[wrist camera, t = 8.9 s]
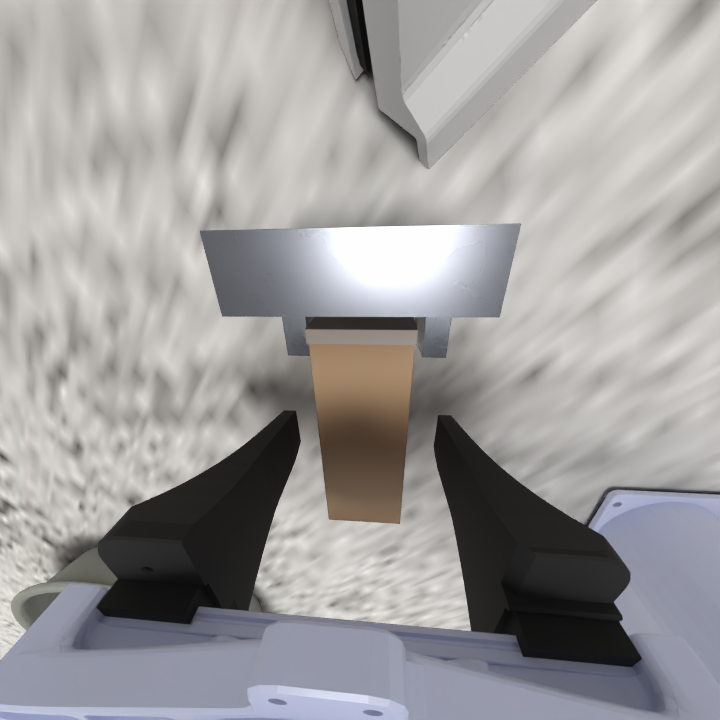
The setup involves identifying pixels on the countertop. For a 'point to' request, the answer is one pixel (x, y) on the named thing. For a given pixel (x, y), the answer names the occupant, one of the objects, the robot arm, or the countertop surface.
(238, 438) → the countertop surface
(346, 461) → the block
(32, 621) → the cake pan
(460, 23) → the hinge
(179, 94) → the countertop surface
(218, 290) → the grey metal bench
